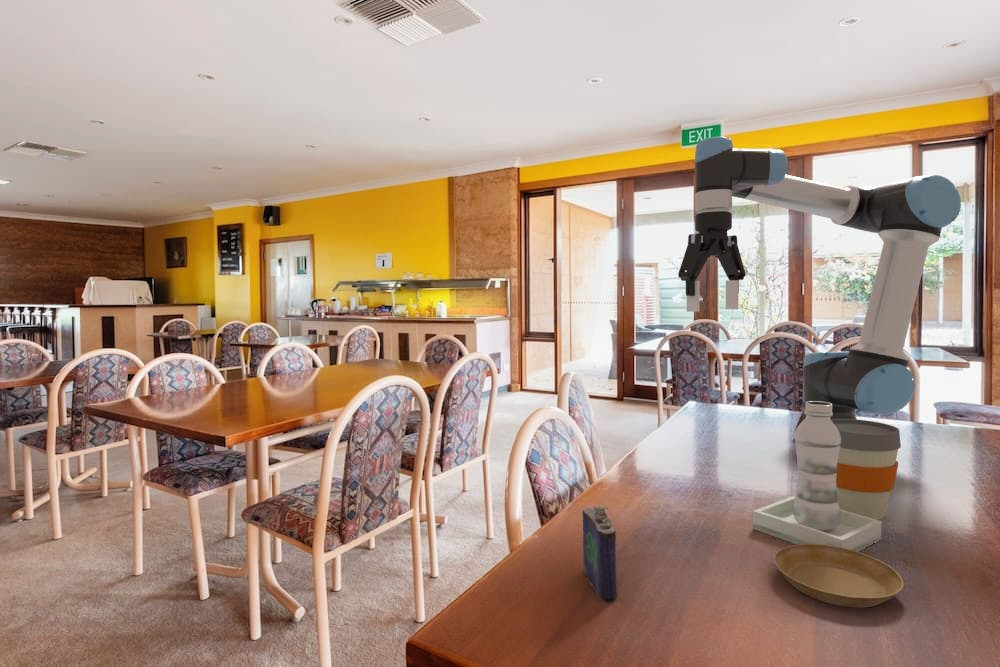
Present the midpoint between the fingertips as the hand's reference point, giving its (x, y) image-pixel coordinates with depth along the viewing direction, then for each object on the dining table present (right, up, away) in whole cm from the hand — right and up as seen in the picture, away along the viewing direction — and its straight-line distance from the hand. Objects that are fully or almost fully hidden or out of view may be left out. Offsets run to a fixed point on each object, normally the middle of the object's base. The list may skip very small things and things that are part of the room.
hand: (713, 310), depth 129 cm
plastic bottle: (+4, -36, -35) cm, 51 cm away
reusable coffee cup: (+16, -36, -25) cm, 47 cm away
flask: (-33, -39, -51) cm, 72 cm away
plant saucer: (-3, -39, -52) cm, 64 cm away
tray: (+3, -37, -35) cm, 51 cm away
